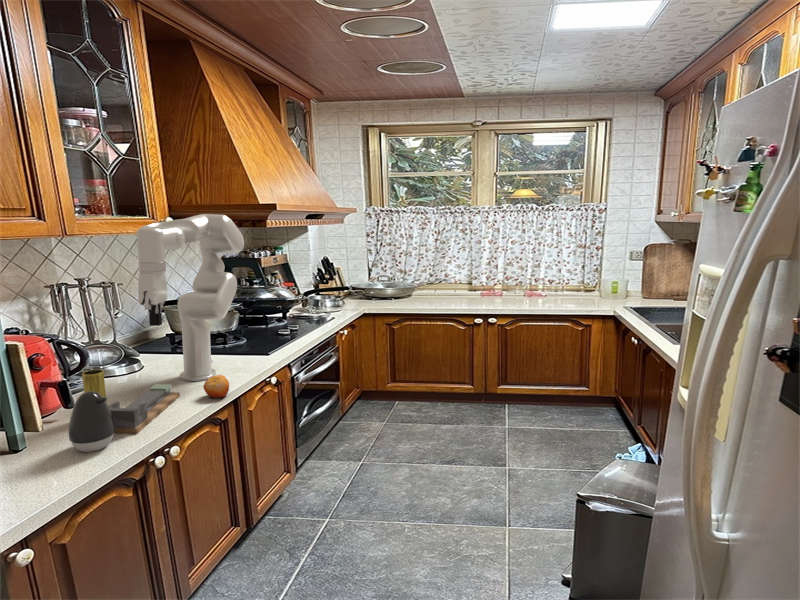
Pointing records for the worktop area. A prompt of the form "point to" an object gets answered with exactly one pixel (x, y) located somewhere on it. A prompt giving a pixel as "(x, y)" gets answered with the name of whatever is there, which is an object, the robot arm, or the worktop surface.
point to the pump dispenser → (91, 423)
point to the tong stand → (139, 413)
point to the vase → (94, 381)
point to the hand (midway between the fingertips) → (156, 324)
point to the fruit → (216, 386)
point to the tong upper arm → (151, 395)
